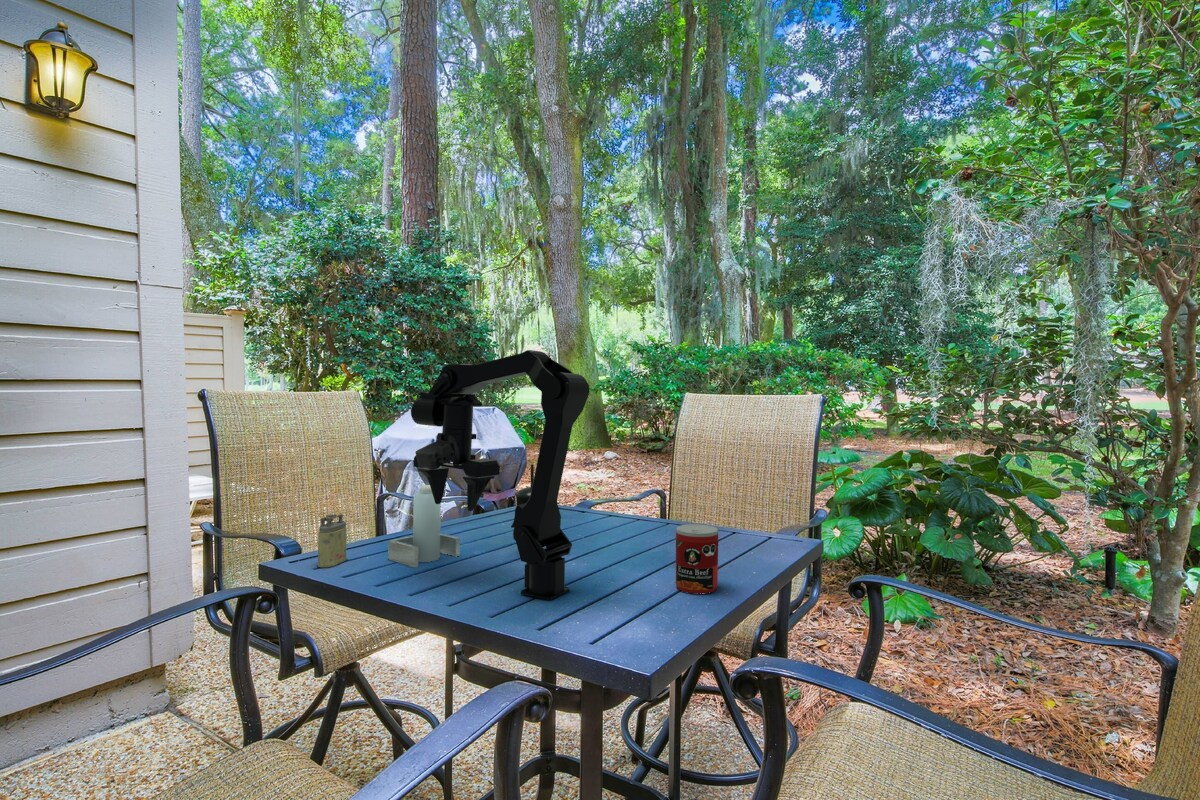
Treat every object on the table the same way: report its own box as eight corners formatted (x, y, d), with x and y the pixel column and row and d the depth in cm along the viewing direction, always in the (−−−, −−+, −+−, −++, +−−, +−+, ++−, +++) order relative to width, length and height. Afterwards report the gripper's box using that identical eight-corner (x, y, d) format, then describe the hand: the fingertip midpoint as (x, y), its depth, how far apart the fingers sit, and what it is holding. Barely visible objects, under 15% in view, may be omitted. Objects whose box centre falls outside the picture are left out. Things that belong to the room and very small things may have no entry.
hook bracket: (462, 555, 128) (463, 523, 128) (414, 567, 118) (414, 533, 118) (435, 548, 134) (435, 517, 134) (386, 559, 124) (387, 526, 124)
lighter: (335, 558, 124) (335, 511, 124) (351, 559, 124) (352, 512, 124) (313, 567, 117) (314, 518, 117) (330, 568, 117) (331, 519, 117)
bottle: (444, 559, 125) (445, 486, 125) (419, 563, 121) (420, 488, 121) (432, 553, 129) (433, 483, 129) (408, 558, 125) (409, 485, 125)
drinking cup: (551, 550, 133) (552, 462, 133) (544, 559, 126) (545, 466, 126) (518, 549, 134) (519, 462, 134) (510, 557, 126) (511, 465, 127)
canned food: (670, 591, 105) (671, 530, 105) (681, 579, 112) (681, 522, 113) (713, 597, 102) (713, 535, 102) (721, 584, 110) (721, 526, 110)
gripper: (392, 426, 113) (389, 506, 113) (460, 433, 103) (456, 521, 103) (437, 424, 122) (434, 498, 123) (503, 431, 112) (499, 512, 112)
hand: (453, 507), depth 115 cm, fingers open, 9 cm apart
